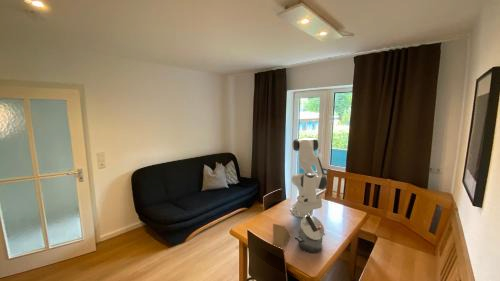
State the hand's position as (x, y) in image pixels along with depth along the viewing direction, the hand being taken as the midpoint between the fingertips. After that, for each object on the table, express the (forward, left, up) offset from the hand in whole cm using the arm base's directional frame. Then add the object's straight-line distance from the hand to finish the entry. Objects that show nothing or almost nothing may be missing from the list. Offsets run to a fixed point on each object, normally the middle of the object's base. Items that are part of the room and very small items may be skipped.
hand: (309, 215), depth 145 cm
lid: (+3, 0, -7) cm, 8 cm away
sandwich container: (-13, -13, -22) cm, 28 cm away
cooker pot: (+2, 0, -21) cm, 21 cm away
